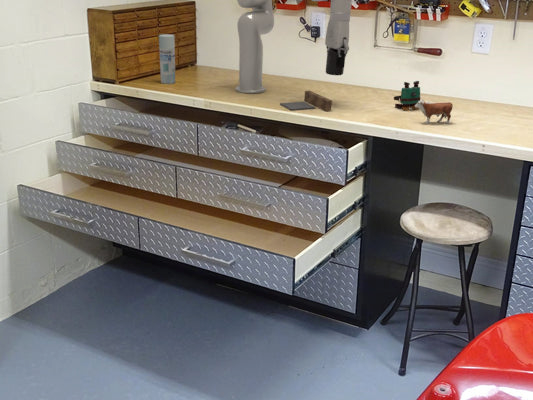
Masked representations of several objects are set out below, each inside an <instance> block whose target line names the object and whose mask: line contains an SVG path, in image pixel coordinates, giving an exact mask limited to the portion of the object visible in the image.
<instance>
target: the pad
mask: <svg viewBox="0 0 533 400" xmlns="http://www.w3.org/2000/svg"><path fill="white" fill-rule="evenodd" d="M279 106H281V107H284V108H286V109H287V110H289V111H303V110H304V111H305V110H315V109H316V106H314V105H312V104H310V103H308V102H305V101H291V102H280V103H279Z"/></svg>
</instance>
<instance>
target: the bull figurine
mask: <svg viewBox="0 0 533 400" xmlns="http://www.w3.org/2000/svg"><path fill="white" fill-rule="evenodd" d="M415 107H416V108H419V109H418V110H421V113H422V114H423V115H424V116H425V117H426V119H427V120H426V121H425V122H424V125H428V124H429V122H430V120H431V117H433V116H436V117H437V118H439V117H440V118H439V119H438V120H437V122H438V123H440V122H442V121H443V119H447V120H446V121H445V125H446V124H449V123H450V120H451V117H452V114H451V112H452V111H453V103H451V102H433V101H429V100H424V99H421V98H420V101H419V102H418V103H417V104H416V105H415Z"/></svg>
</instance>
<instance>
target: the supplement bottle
mask: <svg viewBox="0 0 533 400" xmlns="http://www.w3.org/2000/svg"><path fill="white" fill-rule="evenodd" d="M340 48H343V47H340ZM341 52H342V51H341ZM337 57H338V50H337V49H333V48H330V49H329V50H328V52H327V51H326V61H327V62H325V63H326V64H325V73H326V74H327V75H330V76H342V75H343V74H344V72H345V71H344V69H345V67H344V68H337V67H336V63H337Z"/></svg>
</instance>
